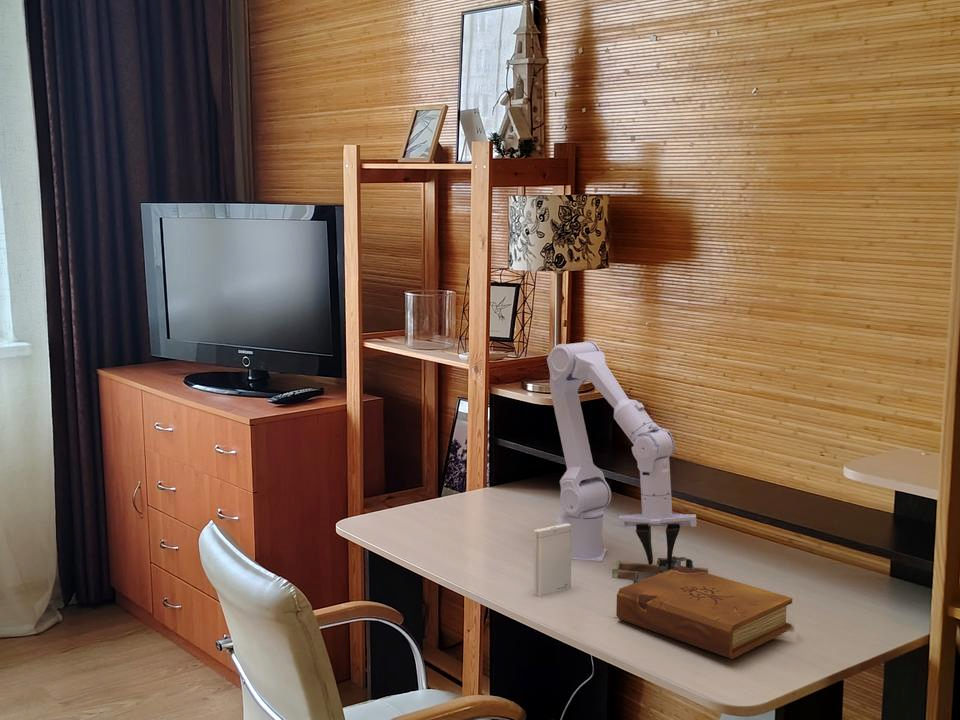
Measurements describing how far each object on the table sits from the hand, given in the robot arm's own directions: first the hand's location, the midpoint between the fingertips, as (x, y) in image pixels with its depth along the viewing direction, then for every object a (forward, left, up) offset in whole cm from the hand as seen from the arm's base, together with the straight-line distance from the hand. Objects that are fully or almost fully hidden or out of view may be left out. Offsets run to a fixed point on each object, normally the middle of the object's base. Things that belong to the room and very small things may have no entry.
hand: (659, 563), depth 203 cm
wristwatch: (+4, +2, -4) cm, 6 cm away
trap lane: (0, +1, -3) cm, 4 cm away
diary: (+9, -21, -4) cm, 23 cm away
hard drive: (-19, -12, -4) cm, 23 cm away
